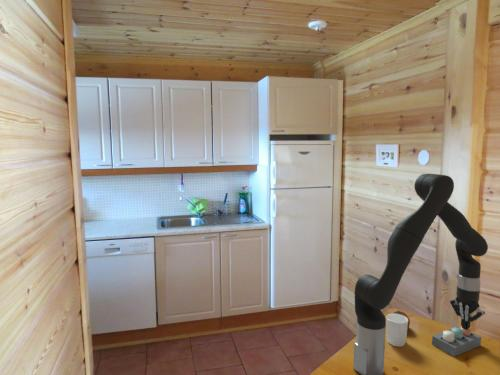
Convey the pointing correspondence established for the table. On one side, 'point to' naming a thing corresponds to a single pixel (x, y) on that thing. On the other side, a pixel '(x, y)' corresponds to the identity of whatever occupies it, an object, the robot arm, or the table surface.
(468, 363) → the table surface
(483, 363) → the table surface
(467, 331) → the pink cube
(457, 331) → the teal button
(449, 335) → the ivory button
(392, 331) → the white cup
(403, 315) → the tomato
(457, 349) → the button panel
